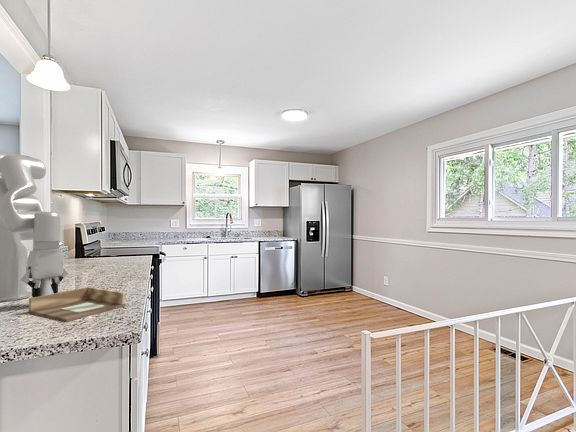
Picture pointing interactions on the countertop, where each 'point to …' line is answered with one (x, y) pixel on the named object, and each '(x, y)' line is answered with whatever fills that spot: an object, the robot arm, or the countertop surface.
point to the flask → (45, 287)
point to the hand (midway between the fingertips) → (45, 296)
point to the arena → (76, 303)
